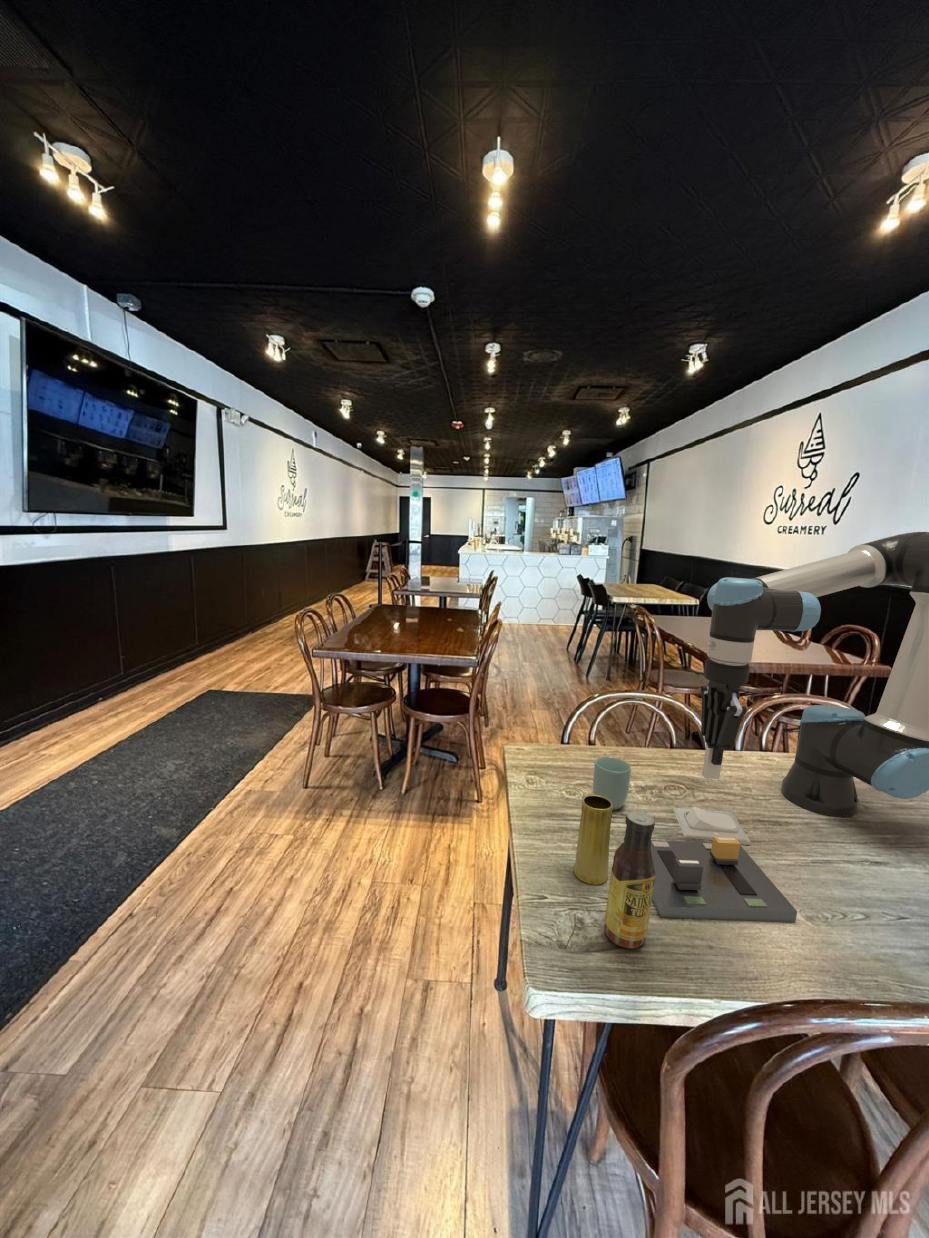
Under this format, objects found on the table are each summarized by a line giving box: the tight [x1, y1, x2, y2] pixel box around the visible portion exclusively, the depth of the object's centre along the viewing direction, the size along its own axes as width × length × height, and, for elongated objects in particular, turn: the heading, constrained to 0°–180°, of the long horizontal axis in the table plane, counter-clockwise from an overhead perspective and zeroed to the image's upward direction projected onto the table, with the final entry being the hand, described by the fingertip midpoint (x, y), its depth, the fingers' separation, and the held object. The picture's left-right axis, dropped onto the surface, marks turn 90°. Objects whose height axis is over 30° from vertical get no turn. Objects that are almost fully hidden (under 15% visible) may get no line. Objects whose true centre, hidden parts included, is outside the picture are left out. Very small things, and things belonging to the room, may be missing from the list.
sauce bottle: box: [604, 810, 656, 950], centre depth 77 cm, size 7×6×20 cm
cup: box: [592, 756, 632, 811], centre depth 115 cm, size 8×8×10 cm
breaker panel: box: [651, 839, 798, 923], centre depth 91 cm, size 22×18×2 cm
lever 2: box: [710, 836, 741, 865], centre depth 94 cm, size 4×3×4 cm
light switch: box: [673, 806, 752, 846], centre depth 109 cm, size 11×4×13 cm
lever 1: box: [672, 859, 703, 890], centre depth 87 cm, size 4×3×4 cm
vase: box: [573, 794, 613, 885], centre depth 91 cm, size 6×6×14 cm
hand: (710, 776), depth 100 cm, fingers closed
